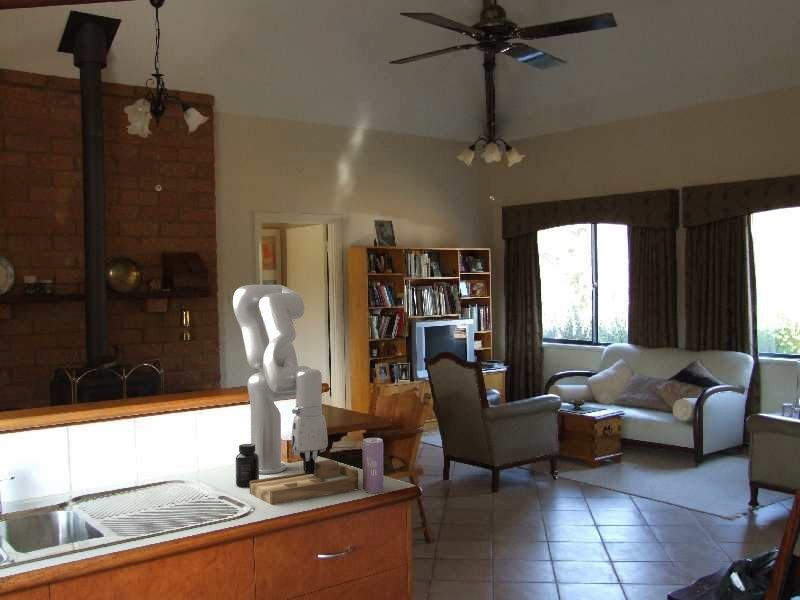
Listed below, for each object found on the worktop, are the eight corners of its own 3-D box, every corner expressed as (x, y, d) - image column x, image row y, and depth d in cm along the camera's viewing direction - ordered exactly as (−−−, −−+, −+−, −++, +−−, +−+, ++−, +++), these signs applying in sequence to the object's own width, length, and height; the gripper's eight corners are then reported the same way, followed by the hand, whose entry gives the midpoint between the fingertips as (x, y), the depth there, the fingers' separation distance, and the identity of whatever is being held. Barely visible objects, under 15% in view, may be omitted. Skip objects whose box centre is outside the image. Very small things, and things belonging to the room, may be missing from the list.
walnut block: (312, 475, 243) (312, 461, 243) (330, 472, 246) (330, 459, 246) (320, 478, 239) (320, 465, 239) (338, 476, 242) (338, 462, 242)
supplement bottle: (263, 484, 245) (263, 444, 244) (248, 489, 239) (248, 448, 238) (246, 481, 248) (246, 441, 248) (230, 486, 242) (230, 445, 242)
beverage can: (384, 488, 240) (384, 437, 239) (381, 494, 234) (382, 442, 233) (364, 488, 240) (364, 437, 240) (361, 493, 234) (361, 441, 234)
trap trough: (249, 493, 234) (249, 474, 234) (333, 479, 250) (333, 461, 250) (271, 504, 223) (271, 484, 222) (358, 489, 239) (358, 470, 239)
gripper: (292, 415, 233) (292, 479, 233) (337, 410, 241) (337, 472, 242) (280, 412, 239) (280, 474, 239) (324, 407, 247) (324, 467, 248)
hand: (309, 473), depth 240 cm, fingers closed
